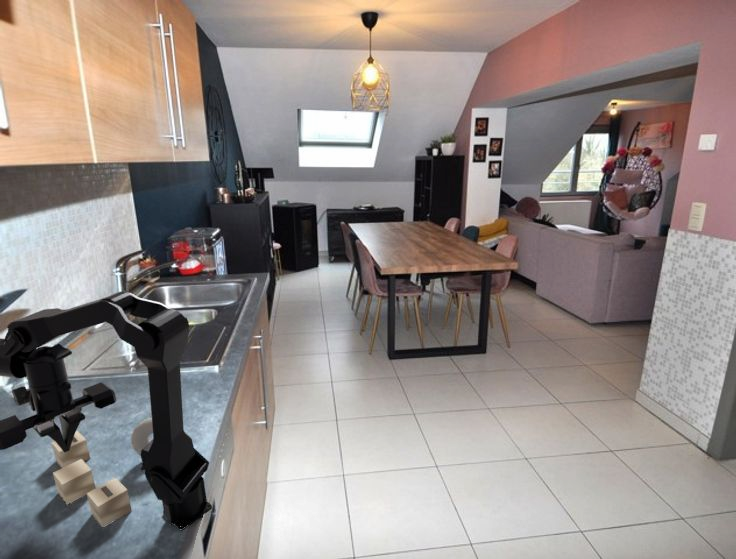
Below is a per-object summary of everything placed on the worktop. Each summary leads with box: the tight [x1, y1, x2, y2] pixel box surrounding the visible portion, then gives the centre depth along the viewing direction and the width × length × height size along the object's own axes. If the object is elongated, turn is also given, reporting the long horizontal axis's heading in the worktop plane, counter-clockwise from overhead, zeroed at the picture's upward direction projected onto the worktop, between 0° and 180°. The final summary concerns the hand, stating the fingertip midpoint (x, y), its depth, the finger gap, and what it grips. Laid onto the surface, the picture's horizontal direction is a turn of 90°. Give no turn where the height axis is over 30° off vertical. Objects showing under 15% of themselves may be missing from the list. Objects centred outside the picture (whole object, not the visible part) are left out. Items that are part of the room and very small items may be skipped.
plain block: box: [52, 459, 97, 505], centre depth 85 cm, size 5×5×5 cm
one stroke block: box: [86, 477, 133, 528], centre depth 80 cm, size 5×5×5 cm
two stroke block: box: [51, 430, 91, 469], centre depth 94 cm, size 5×5×5 cm
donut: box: [130, 416, 153, 457], centre depth 94 cm, size 10×3×10 cm, turn 105°
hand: (66, 450), depth 83 cm, fingers closed
